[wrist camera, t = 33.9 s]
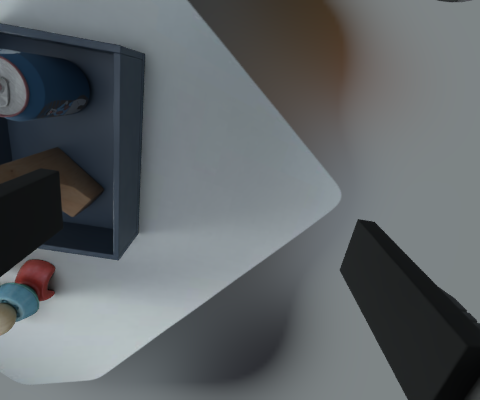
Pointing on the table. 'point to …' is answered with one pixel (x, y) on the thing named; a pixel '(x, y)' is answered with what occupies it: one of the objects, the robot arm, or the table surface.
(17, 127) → the bin
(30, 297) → the stacking toy
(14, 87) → the soda can
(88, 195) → the wooden block
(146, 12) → the table surface
